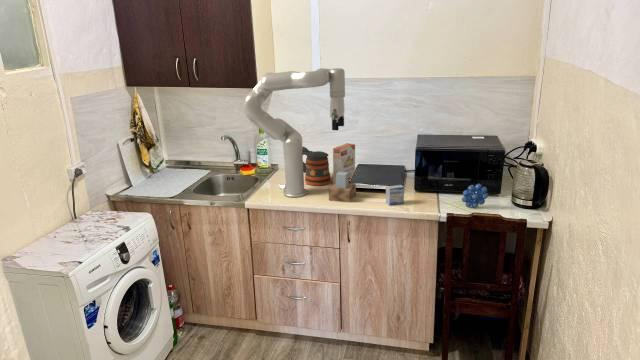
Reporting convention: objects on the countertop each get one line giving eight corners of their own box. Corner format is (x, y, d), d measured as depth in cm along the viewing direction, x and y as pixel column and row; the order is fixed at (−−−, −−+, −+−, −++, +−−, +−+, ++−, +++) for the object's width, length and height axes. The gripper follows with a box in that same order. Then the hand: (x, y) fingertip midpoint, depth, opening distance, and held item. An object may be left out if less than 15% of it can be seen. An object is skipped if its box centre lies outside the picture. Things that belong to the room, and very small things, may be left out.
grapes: (486, 205, 224) (488, 181, 221) (487, 210, 218) (489, 186, 214) (461, 203, 228) (462, 180, 224) (461, 208, 221) (462, 184, 218)
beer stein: (293, 184, 264) (291, 149, 258) (304, 176, 277) (303, 143, 271) (324, 187, 257) (323, 151, 251) (334, 179, 270) (333, 145, 264)
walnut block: (329, 200, 238) (328, 189, 236) (335, 193, 248) (335, 182, 246) (350, 202, 234) (349, 191, 232) (355, 194, 244) (355, 183, 242)
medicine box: (389, 205, 228) (389, 188, 226) (385, 202, 232) (385, 186, 230) (404, 203, 230) (404, 186, 228) (400, 200, 234) (400, 184, 232)
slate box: (336, 187, 238) (335, 174, 236) (339, 184, 242) (338, 171, 240) (345, 188, 236) (345, 175, 234) (348, 185, 241) (348, 172, 238)
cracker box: (342, 186, 257) (341, 149, 251) (333, 184, 261) (332, 148, 254) (356, 179, 268) (355, 143, 261) (347, 178, 271) (346, 142, 265)
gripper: (335, 91, 242) (336, 124, 248) (324, 96, 227) (325, 131, 232) (349, 91, 240) (350, 124, 245) (339, 96, 224) (340, 132, 230)
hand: (338, 128), depth 239 cm, fingers open, 9 cm apart
